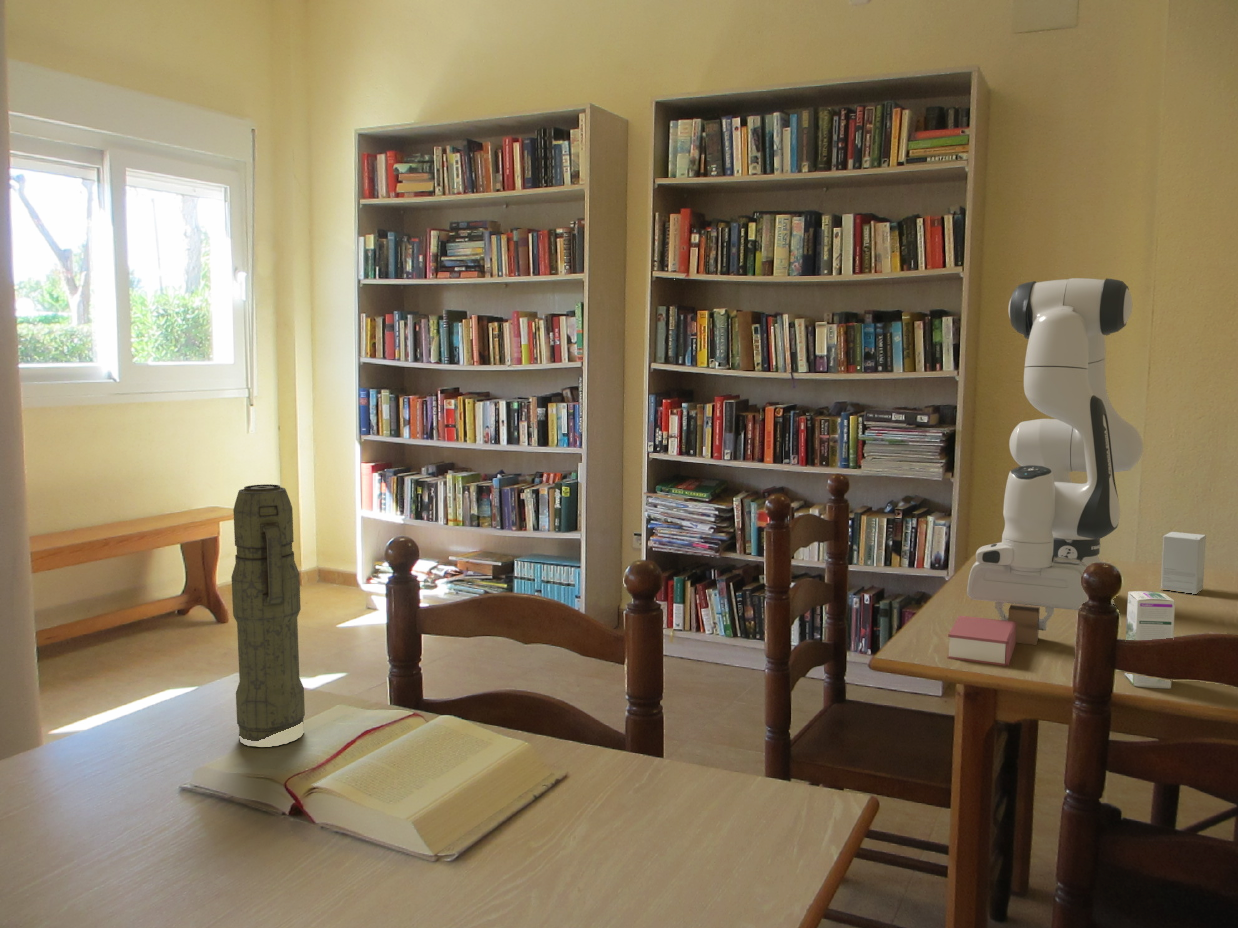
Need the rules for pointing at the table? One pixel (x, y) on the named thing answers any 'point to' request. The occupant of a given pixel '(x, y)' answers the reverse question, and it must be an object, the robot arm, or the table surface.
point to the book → (982, 640)
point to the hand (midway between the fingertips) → (1023, 627)
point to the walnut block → (1025, 622)
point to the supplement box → (1183, 562)
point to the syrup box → (1149, 626)
